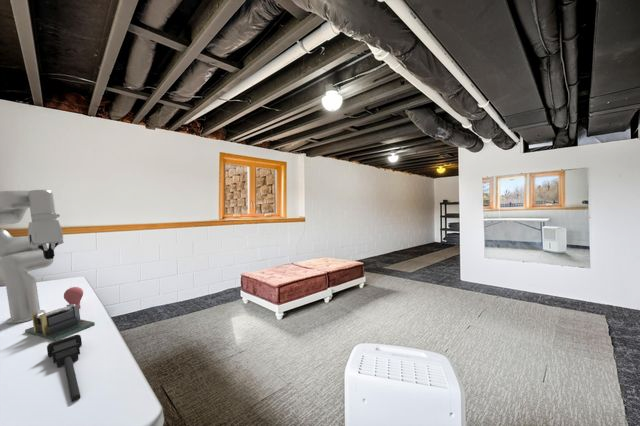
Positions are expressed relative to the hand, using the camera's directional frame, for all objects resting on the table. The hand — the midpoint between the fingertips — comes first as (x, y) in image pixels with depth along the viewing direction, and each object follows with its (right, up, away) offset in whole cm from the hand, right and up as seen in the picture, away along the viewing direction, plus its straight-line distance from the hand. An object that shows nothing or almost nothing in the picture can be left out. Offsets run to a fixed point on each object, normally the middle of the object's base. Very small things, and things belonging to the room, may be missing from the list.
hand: (49, 258), depth 118 cm
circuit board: (+10, -29, -5) cm, 31 cm away
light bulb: (-1, -29, +14) cm, 32 cm away
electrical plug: (+42, -29, -35) cm, 62 cm away
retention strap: (+9, -22, -6) cm, 25 cm away
